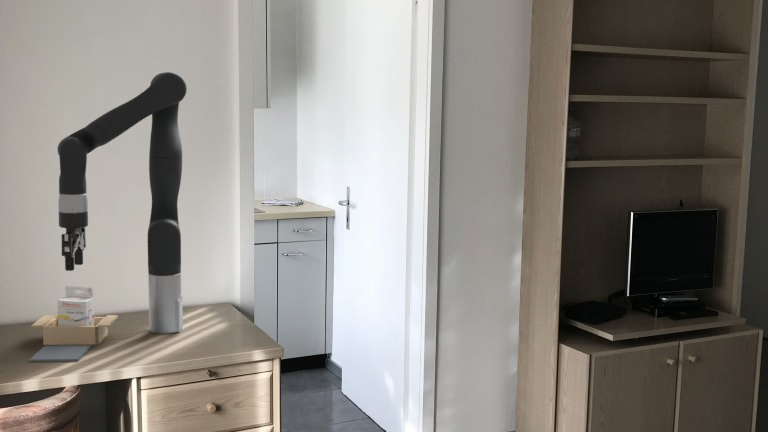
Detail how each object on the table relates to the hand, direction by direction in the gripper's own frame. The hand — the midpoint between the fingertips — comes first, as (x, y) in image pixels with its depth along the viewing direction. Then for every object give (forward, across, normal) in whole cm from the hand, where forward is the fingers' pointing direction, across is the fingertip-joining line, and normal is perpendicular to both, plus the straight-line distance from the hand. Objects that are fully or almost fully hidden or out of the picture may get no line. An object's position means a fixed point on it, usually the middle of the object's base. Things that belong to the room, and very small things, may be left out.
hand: (74, 267), depth 219 cm
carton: (+21, 0, 0) cm, 21 cm away
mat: (+21, -14, 0) cm, 25 cm away
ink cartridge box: (+21, 0, 0) cm, 21 cm away
